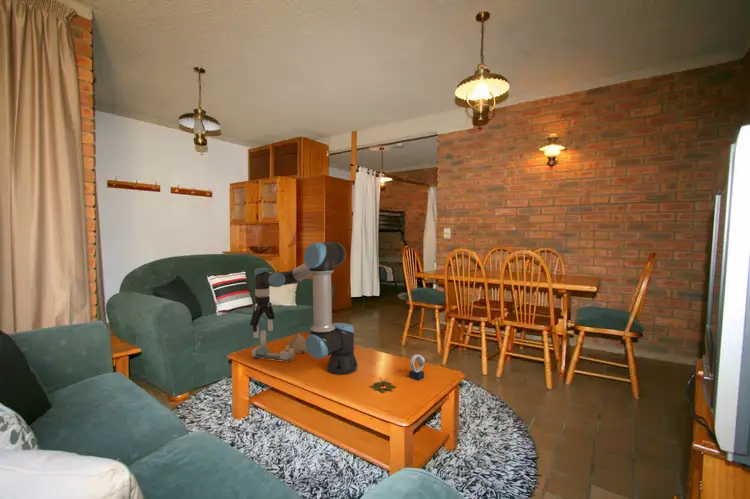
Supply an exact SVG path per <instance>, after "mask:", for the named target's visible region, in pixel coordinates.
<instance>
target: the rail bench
mask: <svg viewBox="0 0 750 499" xmlns="http://www.w3.org/2000/svg"><path fill="white" fill-rule="evenodd" d="M258 349H260V345H258V346H256V347H255V348H253V349H251V358H252V357H253V358H264V359H274V360H282V361H289V360H291V359H292V358H293V359H295V354H294V349H289V351H288V352H286V351H285V349H284V348H283V350H281V351H280V352H279V353H277V352H268V353H265V355H258V352H257V350H258ZM293 359H292V360H293ZM292 360H291V361H292ZM289 362H290V361H289Z"/></svg>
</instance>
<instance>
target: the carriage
mask: <svg viewBox="0 0 750 499" xmlns="http://www.w3.org/2000/svg"><path fill="white" fill-rule="evenodd" d="M259 332H260V333H259V340H260V344H259V346H260V349H258V350H257V352H258V355H265V353H269V352H270V347H268V346H267V331H266V330H264V329H263V330H260V331H259Z"/></svg>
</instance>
